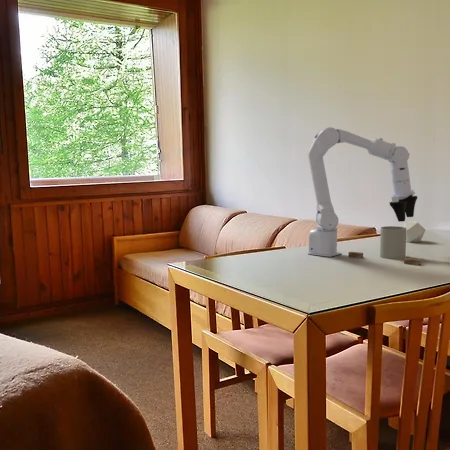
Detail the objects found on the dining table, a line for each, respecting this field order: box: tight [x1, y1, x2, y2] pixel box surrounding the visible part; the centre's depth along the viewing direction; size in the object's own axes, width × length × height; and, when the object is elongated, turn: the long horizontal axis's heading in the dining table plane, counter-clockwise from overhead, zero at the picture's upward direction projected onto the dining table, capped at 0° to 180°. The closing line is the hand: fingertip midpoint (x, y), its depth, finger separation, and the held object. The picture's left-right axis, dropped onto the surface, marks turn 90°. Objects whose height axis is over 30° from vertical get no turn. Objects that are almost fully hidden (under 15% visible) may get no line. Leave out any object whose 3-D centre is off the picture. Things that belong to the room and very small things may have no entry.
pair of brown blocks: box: [348, 251, 421, 266], centre depth 167 cm, size 24×2×2 cm, turn 49°
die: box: [402, 220, 426, 243], centre depth 204 cm, size 8×9×10 cm
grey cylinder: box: [379, 225, 407, 260], centre depth 172 cm, size 8×8×10 cm
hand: (406, 219), depth 177 cm, fingers open, 7 cm apart
